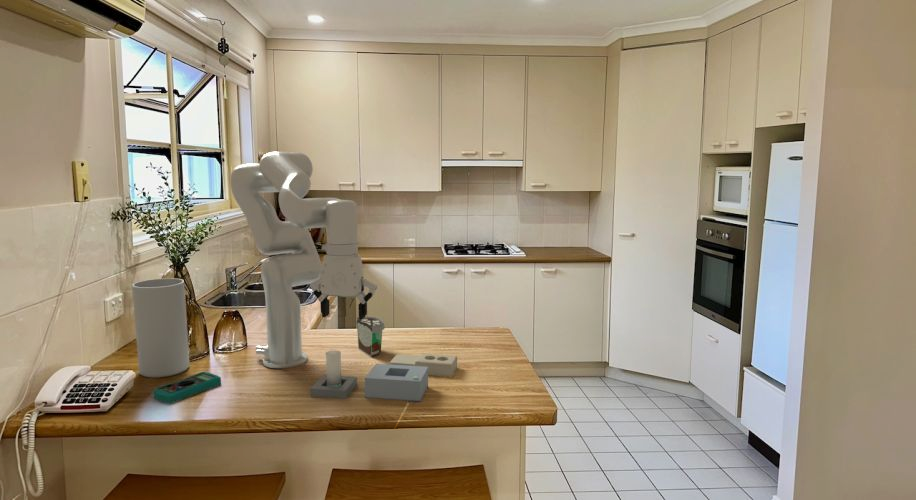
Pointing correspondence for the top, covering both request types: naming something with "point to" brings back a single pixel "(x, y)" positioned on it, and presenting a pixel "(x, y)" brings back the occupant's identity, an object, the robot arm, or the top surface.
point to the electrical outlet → (429, 363)
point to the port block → (397, 382)
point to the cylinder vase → (161, 327)
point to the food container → (370, 335)
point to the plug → (333, 368)
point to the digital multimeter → (186, 387)
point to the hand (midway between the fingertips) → (343, 316)
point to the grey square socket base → (333, 388)
